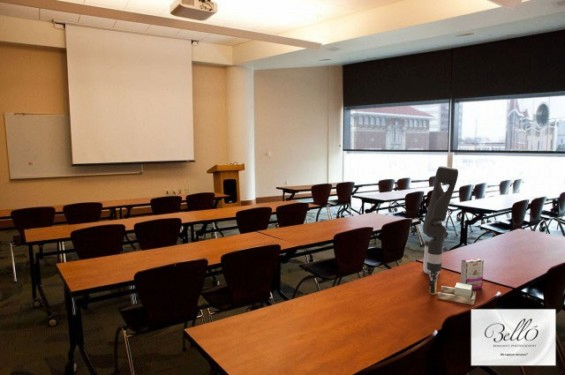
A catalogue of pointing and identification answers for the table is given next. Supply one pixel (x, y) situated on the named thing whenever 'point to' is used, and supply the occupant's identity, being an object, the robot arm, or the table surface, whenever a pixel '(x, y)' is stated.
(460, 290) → the tethered block
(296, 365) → the table surface
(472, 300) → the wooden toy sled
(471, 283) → the candy bar box
